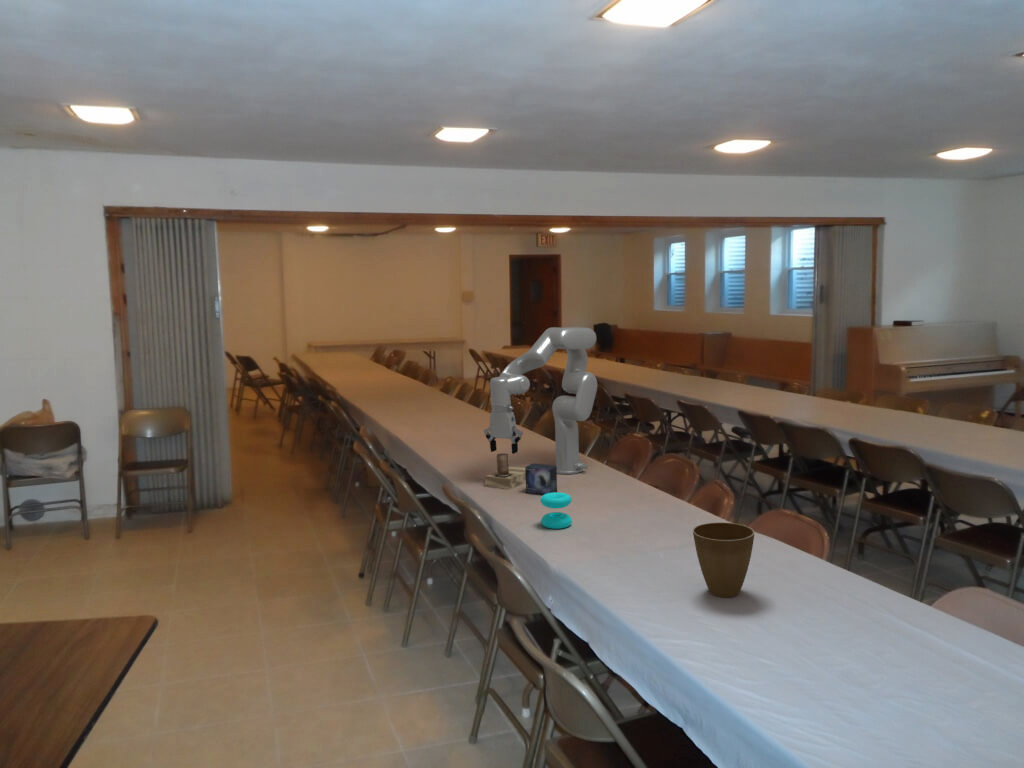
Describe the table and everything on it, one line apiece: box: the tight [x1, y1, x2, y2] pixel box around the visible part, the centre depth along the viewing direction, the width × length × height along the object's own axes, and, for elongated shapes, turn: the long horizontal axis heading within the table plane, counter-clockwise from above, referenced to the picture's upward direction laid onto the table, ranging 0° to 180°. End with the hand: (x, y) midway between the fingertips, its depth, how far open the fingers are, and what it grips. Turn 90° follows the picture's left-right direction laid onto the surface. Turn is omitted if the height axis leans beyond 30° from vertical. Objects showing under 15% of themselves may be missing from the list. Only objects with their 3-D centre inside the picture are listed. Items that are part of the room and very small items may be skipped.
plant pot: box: [692, 521, 755, 598], centre depth 202 cm, size 15×15×16 cm
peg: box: [496, 453, 510, 478], centre depth 314 cm, size 4×4×12 cm
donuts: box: [540, 491, 573, 530], centre depth 261 cm, size 10×10×10 cm
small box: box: [525, 462, 558, 496], centre depth 302 cm, size 11×6×10 cm, turn 62°
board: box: [484, 465, 526, 490], centre depth 320 cm, size 20×11×4 cm, turn 149°
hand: (504, 452), depth 314 cm, fingers open, 9 cm apart
